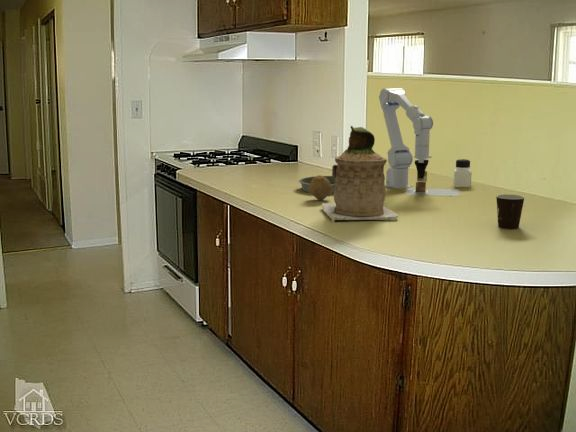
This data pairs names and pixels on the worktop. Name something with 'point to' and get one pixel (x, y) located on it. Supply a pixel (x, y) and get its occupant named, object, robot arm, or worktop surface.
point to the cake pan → (306, 181)
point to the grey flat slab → (434, 192)
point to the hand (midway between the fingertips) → (421, 177)
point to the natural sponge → (320, 187)
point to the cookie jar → (359, 181)
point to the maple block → (423, 178)
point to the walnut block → (421, 187)
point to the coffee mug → (509, 210)
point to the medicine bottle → (462, 173)
